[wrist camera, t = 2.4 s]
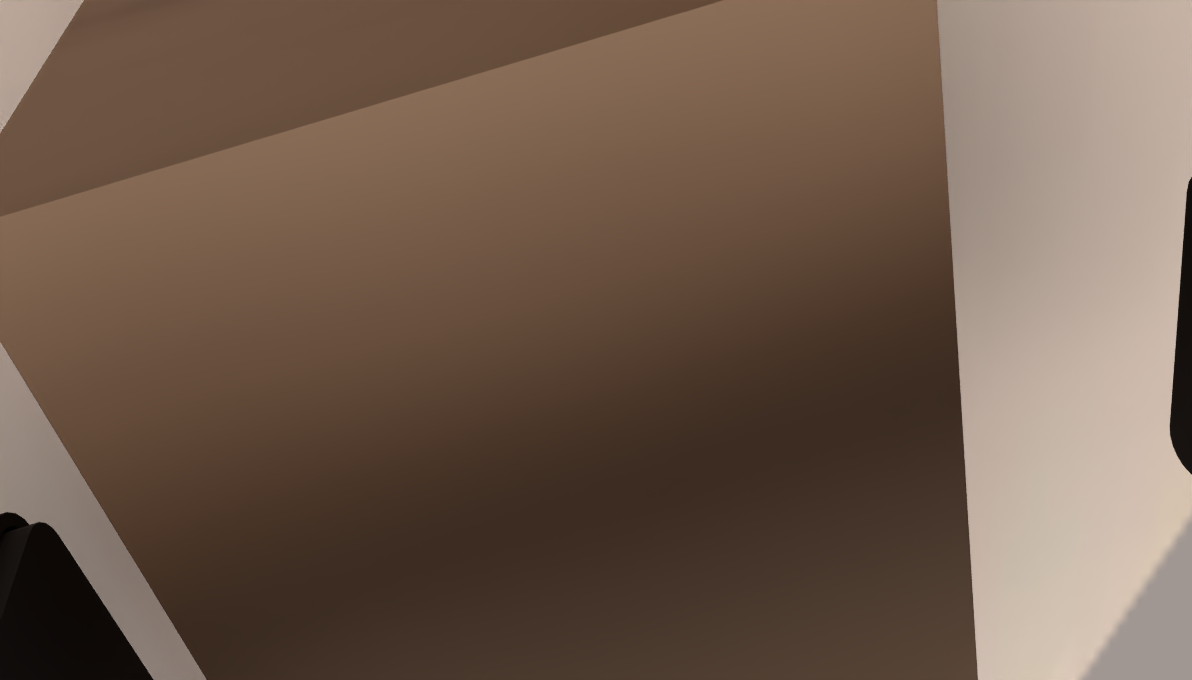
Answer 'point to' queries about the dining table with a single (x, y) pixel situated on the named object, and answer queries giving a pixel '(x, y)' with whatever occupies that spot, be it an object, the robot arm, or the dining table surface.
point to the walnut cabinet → (506, 332)
